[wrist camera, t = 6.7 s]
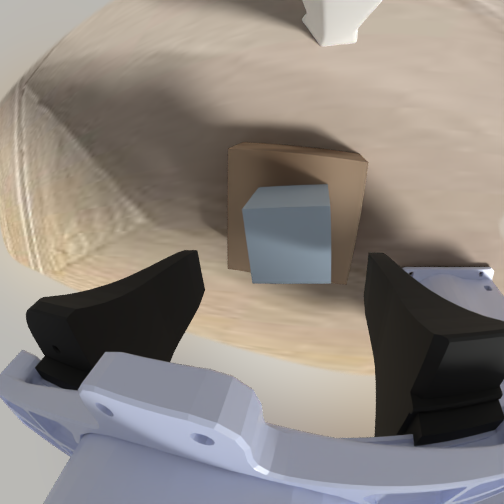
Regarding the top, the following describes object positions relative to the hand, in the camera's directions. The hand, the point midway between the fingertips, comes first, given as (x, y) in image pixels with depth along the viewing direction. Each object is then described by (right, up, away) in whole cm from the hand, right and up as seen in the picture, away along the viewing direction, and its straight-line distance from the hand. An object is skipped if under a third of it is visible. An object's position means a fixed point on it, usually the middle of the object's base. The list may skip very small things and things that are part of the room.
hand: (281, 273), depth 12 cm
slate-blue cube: (+1, +3, +5) cm, 6 cm away
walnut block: (+2, +5, +9) cm, 10 cm away
